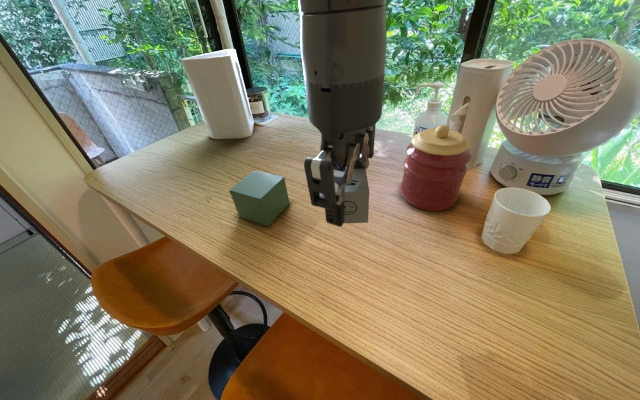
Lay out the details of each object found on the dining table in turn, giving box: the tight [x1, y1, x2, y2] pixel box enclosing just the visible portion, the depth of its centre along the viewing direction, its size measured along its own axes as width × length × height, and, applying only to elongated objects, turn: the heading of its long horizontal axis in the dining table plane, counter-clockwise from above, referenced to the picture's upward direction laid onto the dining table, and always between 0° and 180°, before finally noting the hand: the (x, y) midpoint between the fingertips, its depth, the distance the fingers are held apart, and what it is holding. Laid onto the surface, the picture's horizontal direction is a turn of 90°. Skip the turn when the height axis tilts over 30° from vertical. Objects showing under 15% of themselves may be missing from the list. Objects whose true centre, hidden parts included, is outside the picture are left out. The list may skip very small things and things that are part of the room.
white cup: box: [480, 186, 552, 255], centre depth 46 cm, size 8×8×10 cm
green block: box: [228, 169, 290, 227], centre depth 60 cm, size 9×9×8 cm
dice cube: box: [334, 168, 370, 224], centre depth 33 cm, size 5×5×5 cm
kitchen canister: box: [400, 124, 473, 212], centre depth 56 cm, size 13×13×18 cm
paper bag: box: [180, 48, 255, 140], centre depth 95 cm, size 19×15×28 cm
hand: (347, 205), depth 34 cm, fingers closed on dice cube, 6 cm apart
